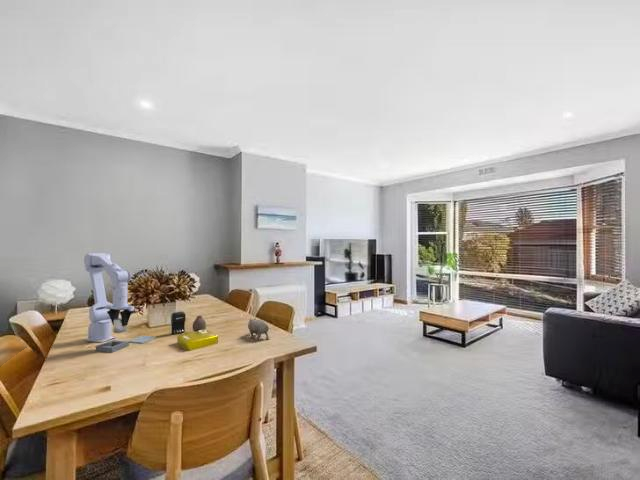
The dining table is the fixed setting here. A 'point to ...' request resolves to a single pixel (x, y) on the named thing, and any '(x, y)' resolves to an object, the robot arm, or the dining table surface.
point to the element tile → (197, 339)
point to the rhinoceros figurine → (258, 328)
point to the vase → (199, 324)
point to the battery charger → (178, 322)
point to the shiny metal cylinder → (119, 326)
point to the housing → (116, 345)
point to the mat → (142, 339)
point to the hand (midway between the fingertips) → (120, 325)
